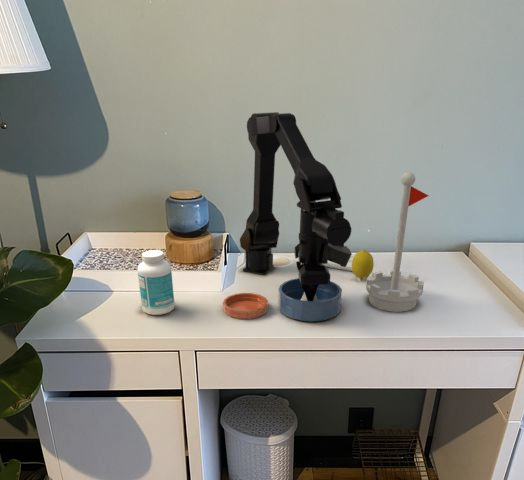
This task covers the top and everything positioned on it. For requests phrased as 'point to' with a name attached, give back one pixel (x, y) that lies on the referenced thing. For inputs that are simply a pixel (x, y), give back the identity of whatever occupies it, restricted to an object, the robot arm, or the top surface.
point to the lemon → (362, 264)
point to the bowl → (309, 310)
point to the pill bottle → (155, 283)
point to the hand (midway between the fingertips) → (309, 298)
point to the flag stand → (398, 264)
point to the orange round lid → (245, 305)
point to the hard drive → (337, 266)
